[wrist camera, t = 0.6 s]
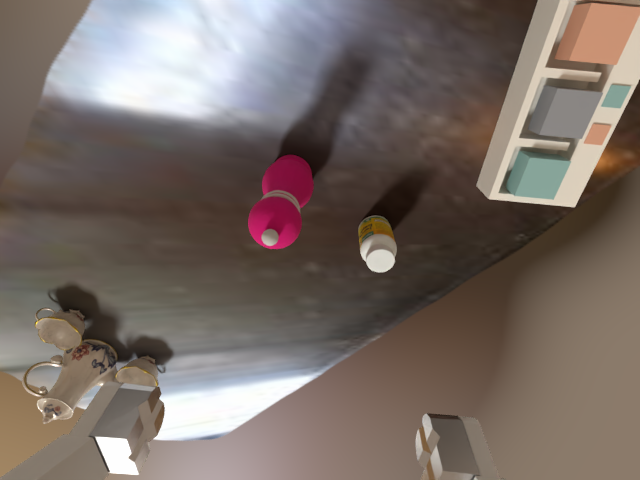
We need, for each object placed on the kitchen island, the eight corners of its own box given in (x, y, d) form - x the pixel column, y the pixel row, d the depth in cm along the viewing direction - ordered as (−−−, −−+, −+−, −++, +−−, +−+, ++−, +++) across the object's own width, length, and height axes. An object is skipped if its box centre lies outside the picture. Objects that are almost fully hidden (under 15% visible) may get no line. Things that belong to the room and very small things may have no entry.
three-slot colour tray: (541, -9, 40) (566, -15, 35) (644, 0, 40) (683, -4, 35) (476, 185, 52) (489, 199, 48) (555, 193, 52) (575, 207, 48)
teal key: (519, 150, 46) (529, 157, 43) (558, 154, 46) (571, 161, 43) (505, 187, 48) (514, 195, 46) (542, 190, 48) (553, 199, 46)
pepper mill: (312, 148, 50) (297, 206, 33) (318, 194, 54) (308, 267, 37) (263, 153, 51) (225, 213, 34) (273, 198, 55) (242, 272, 38)
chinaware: (182, 354, 77) (151, 423, 62) (143, 394, 82) (106, 465, 67) (61, 285, 68) (-9, 344, 54) (26, 333, 74) (-46, 400, 59)
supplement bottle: (380, 247, 58) (387, 282, 50) (352, 235, 57) (354, 268, 49) (397, 222, 56) (407, 254, 48) (367, 208, 55) (373, 239, 47)
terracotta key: (574, 5, 37) (591, 2, 35) (622, 9, 37) (643, 7, 35) (554, 59, 40) (568, 60, 37) (598, 63, 40) (616, 65, 37)
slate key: (544, 85, 41) (557, 88, 39) (586, 89, 41) (603, 92, 39) (527, 129, 44) (539, 134, 42) (567, 132, 44) (581, 139, 42)
